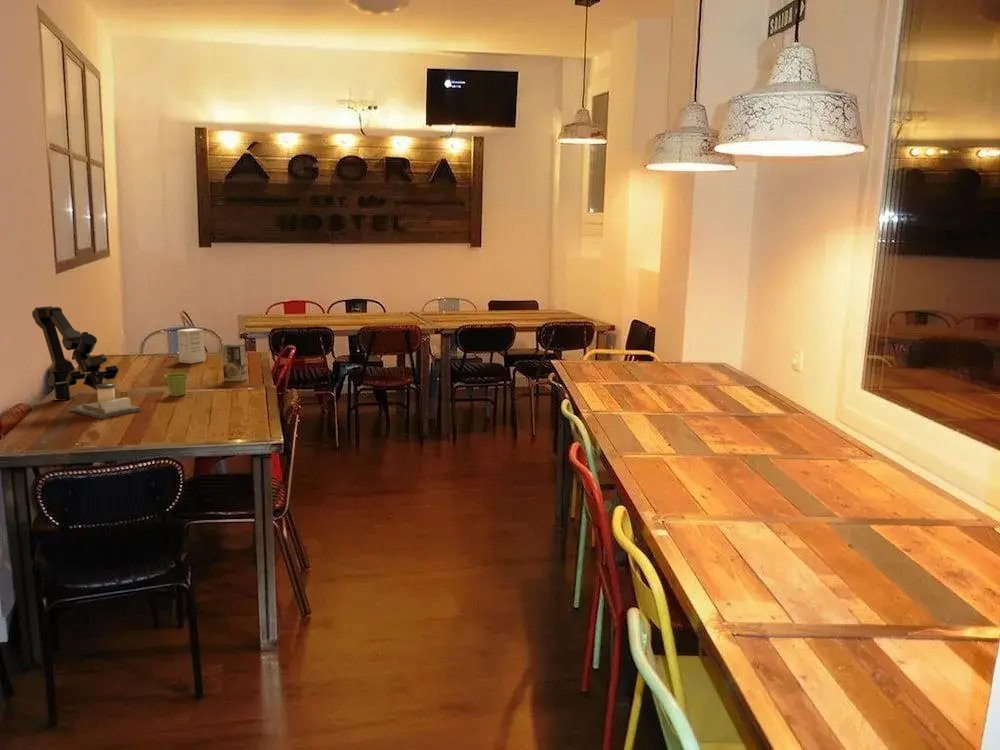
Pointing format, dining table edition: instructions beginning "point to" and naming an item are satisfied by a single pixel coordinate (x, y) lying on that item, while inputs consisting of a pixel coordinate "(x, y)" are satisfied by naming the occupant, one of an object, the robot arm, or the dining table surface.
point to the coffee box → (234, 362)
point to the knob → (105, 392)
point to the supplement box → (191, 345)
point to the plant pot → (177, 383)
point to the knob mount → (107, 408)
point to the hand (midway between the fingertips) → (101, 391)
